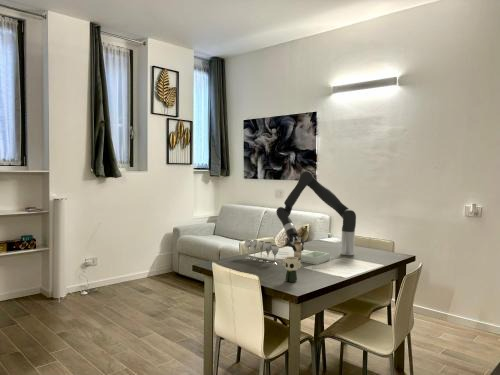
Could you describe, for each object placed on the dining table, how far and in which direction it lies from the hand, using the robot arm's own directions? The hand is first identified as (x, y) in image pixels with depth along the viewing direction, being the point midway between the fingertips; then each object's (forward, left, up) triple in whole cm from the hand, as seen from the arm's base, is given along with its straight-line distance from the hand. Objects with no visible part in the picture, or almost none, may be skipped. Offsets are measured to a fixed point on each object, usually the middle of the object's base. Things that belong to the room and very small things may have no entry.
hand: (299, 250), depth 273 cm
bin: (-3, +11, -6) cm, 13 cm away
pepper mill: (-1, -2, -6) cm, 6 cm away
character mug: (+51, +24, -6) cm, 57 cm away
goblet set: (+22, -17, -6) cm, 28 cm away
